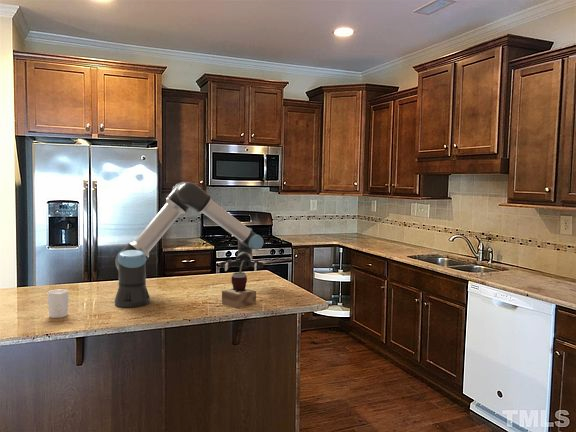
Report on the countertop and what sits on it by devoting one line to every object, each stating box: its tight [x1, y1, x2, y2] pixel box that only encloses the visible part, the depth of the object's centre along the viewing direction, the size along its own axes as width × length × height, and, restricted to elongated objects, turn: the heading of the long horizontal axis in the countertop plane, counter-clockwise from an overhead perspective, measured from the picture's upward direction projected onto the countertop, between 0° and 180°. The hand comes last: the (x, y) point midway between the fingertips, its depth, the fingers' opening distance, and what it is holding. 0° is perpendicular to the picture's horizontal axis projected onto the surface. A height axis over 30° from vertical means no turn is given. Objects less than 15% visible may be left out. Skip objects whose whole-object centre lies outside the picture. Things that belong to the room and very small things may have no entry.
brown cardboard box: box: [221, 288, 257, 310], centre depth 212 cm, size 11×11×6 cm
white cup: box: [46, 289, 70, 319], centre depth 189 cm, size 8×8×10 cm
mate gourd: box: [230, 260, 248, 292], centre depth 211 cm, size 8×8×15 cm
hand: (240, 268), depth 214 cm, fingers open, 13 cm apart
